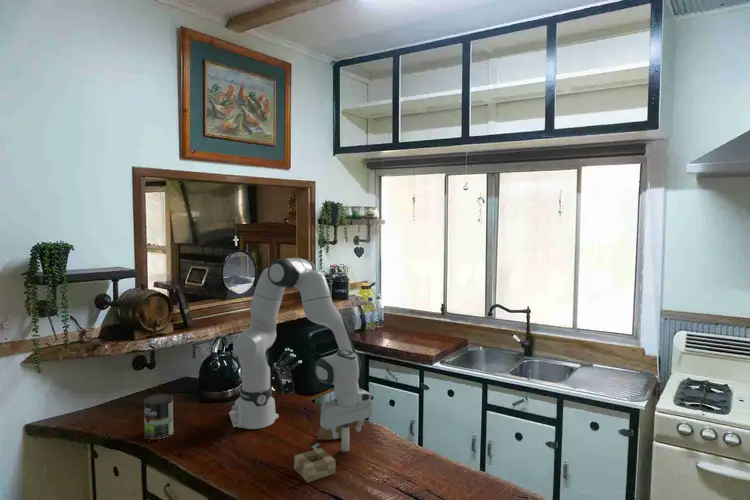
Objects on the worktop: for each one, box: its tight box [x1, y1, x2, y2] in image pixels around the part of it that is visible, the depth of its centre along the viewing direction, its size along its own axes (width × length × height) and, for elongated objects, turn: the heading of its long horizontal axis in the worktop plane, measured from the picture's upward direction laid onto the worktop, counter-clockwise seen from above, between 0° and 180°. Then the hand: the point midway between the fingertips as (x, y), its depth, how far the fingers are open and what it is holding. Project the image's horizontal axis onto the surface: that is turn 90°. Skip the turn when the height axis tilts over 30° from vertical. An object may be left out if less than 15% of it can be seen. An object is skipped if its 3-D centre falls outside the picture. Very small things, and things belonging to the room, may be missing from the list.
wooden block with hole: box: [293, 447, 337, 483], centre depth 162 cm, size 10×10×4 cm
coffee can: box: [143, 393, 174, 439], centre depth 187 cm, size 10×10×14 cm
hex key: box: [311, 443, 320, 450], centre depth 176 cm, size 11×3×1 cm, turn 34°
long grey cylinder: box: [341, 423, 351, 453], centre depth 177 cm, size 3×3×10 cm
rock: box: [316, 424, 342, 441], centre depth 186 cm, size 11×9×10 cm
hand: (347, 434), depth 177 cm, fingers open, 8 cm apart
